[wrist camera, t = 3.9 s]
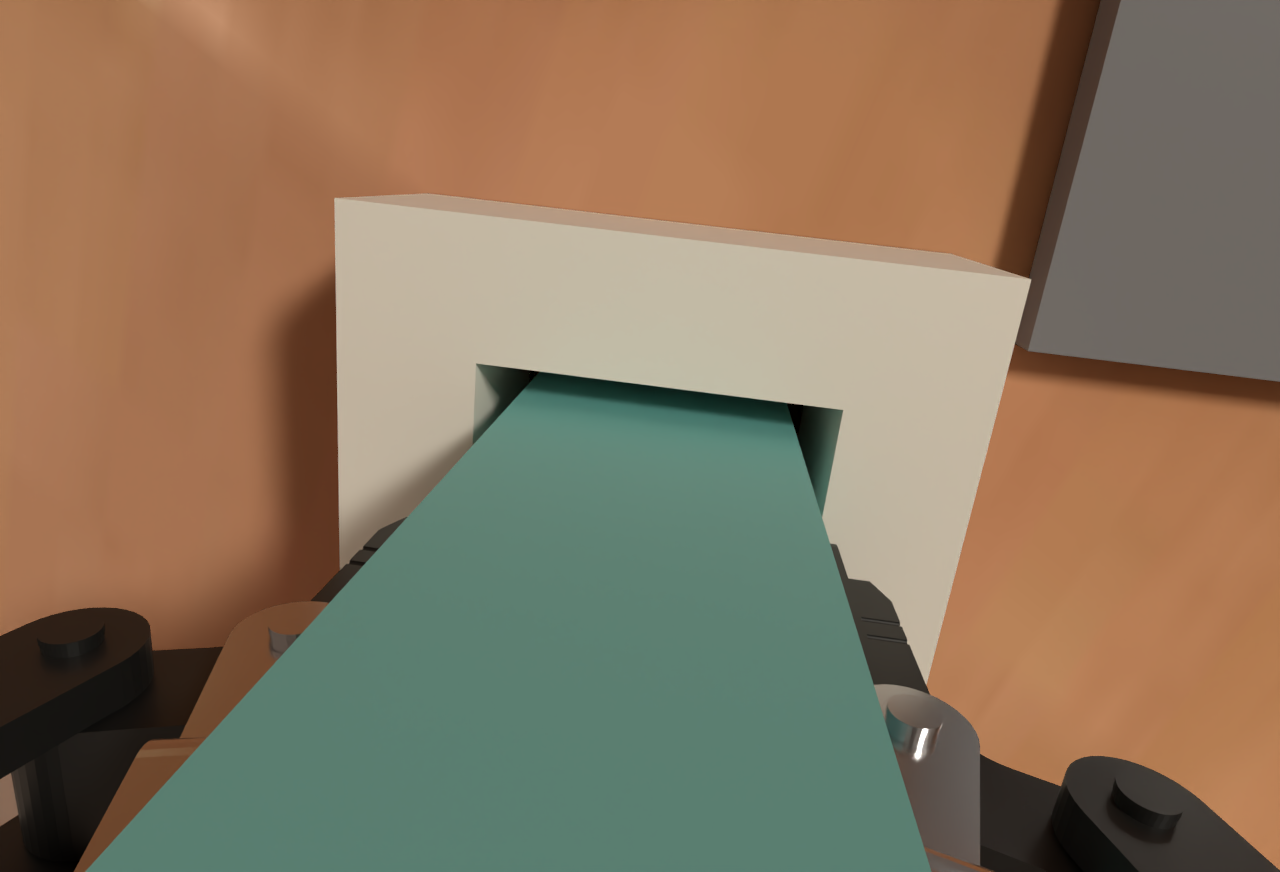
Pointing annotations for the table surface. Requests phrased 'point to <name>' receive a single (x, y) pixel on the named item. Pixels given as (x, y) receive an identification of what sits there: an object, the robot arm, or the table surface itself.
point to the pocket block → (677, 359)
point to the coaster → (1168, 195)
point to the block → (567, 672)
